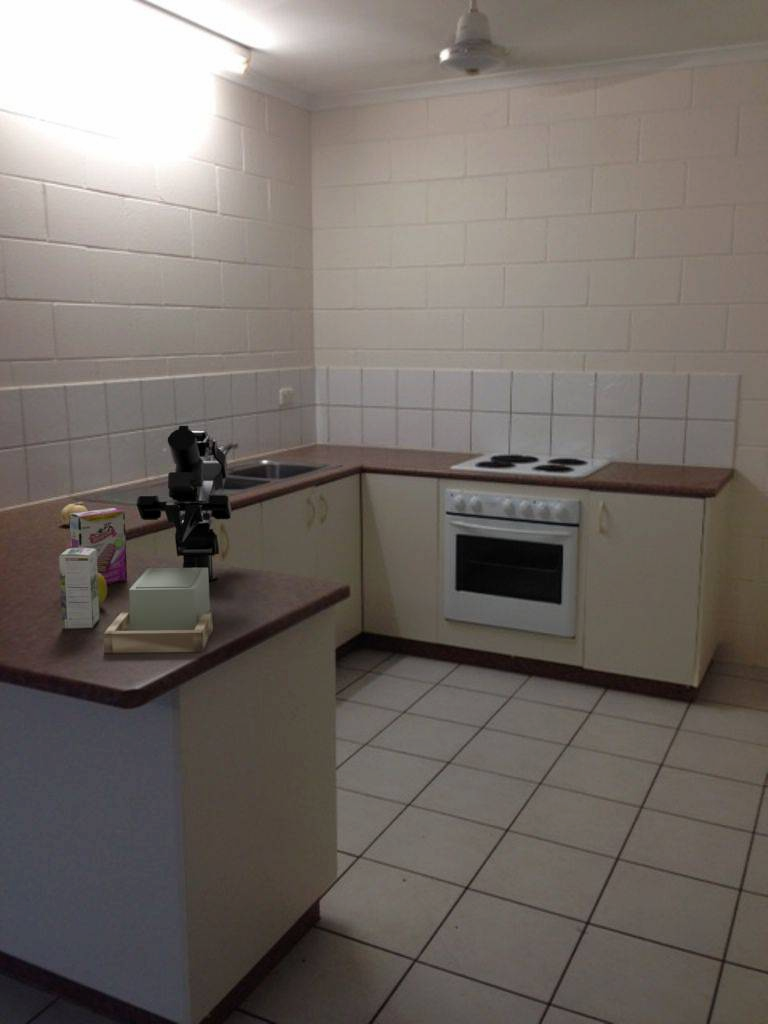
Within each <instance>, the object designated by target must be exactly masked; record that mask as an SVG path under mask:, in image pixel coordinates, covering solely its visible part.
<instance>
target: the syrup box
mask: <svg viewBox="0 0 768 1024" xmlns="http://www.w3.org/2000/svg"><path fill="white" fill-rule="evenodd" d="M58 557H59V558H58V561H59V562H58V563H59V580H60V581H59V582H60V584H59V585H60V601H61V617H62V618H61V620H62V628H63V629H67V630H68V629H93V628H94V626H95V625H96V624H97V623H98V621H99V620H100V604H99V592H98V571H97V550H96V549H92V548H71V547H70V548H67V549H66V550H65V551H63V552H62V553H61V554H60V555H59V556H58Z"/></svg>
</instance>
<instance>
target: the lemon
mask: <svg viewBox="0 0 768 1024" xmlns="http://www.w3.org/2000/svg"><path fill="white" fill-rule="evenodd" d="M98 592H99V605H100V604H102V603H103V602H104V601H105V599H106V597H107V595H108V594H107V593H108V584H106V581H105V579H104V577H103V576H102V575H101V574H100V573H98Z"/></svg>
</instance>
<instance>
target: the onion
mask: <svg viewBox="0 0 768 1024" xmlns="http://www.w3.org/2000/svg"><path fill="white" fill-rule="evenodd" d="M86 511H89V510H88V508H87V507H85V506H84V503H83V502H82V500H80V501H79V502H75V503H69V504H67V505H65V507H63V509H62V510H61V512H60V520H61V522H62V523H63V524H64V525H66V526H68V527H70V519H69V514H71V513H78V512H86Z"/></svg>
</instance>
